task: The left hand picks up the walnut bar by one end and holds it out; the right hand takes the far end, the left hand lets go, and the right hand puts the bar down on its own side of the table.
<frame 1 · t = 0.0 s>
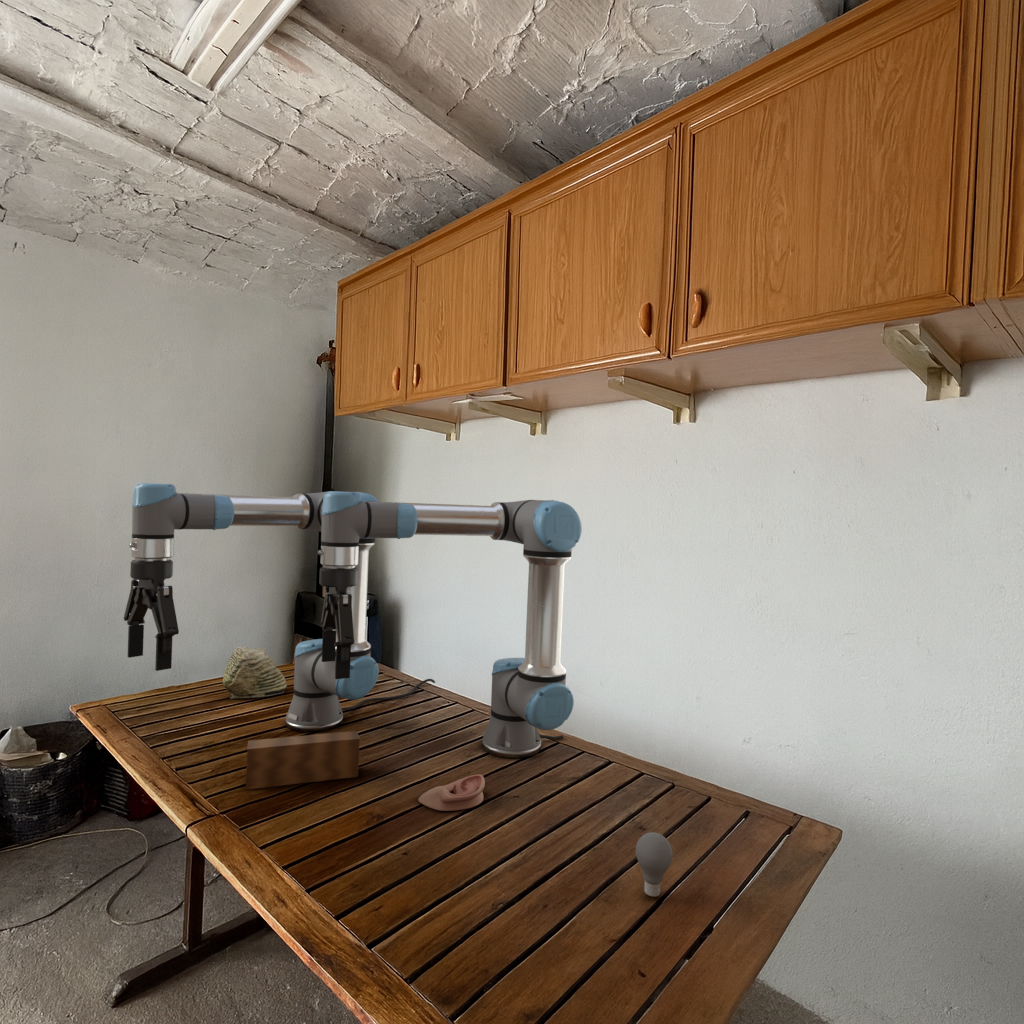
left hand: (148, 662, 129), 28 cm above the table, tool pointing down, fingers open, 13 cm apart
right hand: (335, 669, 130), 28 cm above the table, tool pointing down, fingers open, 13 cm apart
light bulb: (651, 895, 105), on the table
bar: (303, 778, 142), on the table
anatomical model: (451, 799, 135), on the table
fossil: (254, 694, 198), on the table
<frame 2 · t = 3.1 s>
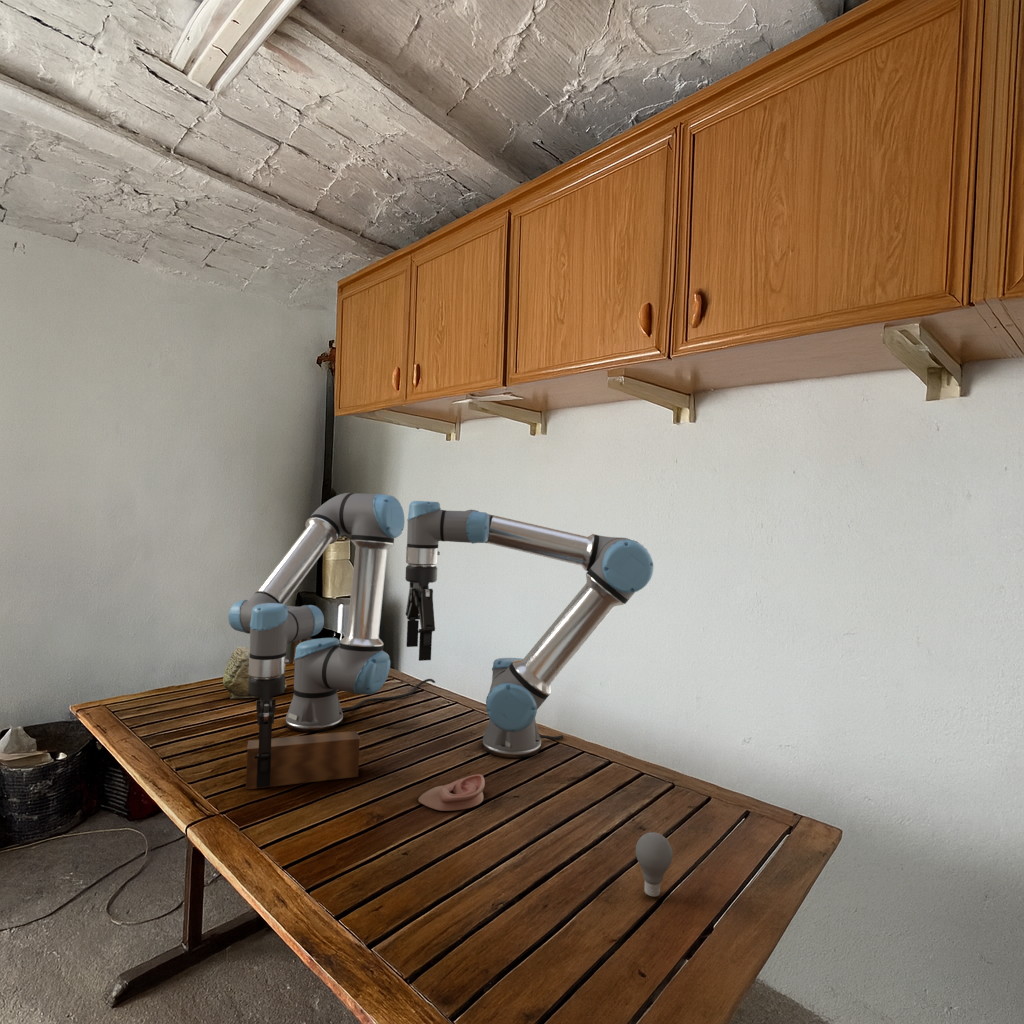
left hand: (263, 780, 139), 1 cm above the table, tool pointing down, fingers closed on bar, 5 cm apart
right hand: (418, 653, 152), 27 cm above the table, tool pointing down, fingers open, 13 cm apart
bar: (303, 778, 142), on the table, touching left hand
everything else where it was.
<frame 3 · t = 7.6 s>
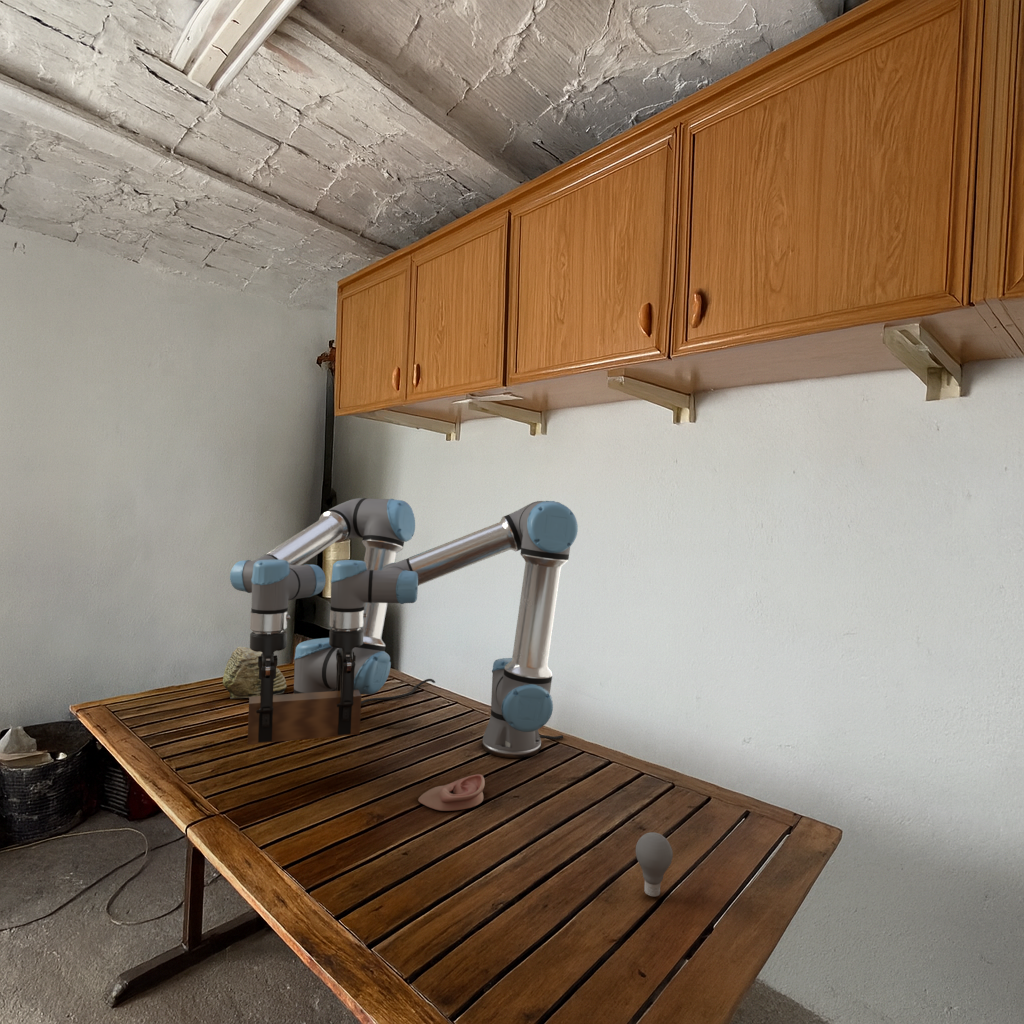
left hand: (265, 736, 139), 10 cm above the table, tool pointing down, fingers closed on bar, 5 cm apart
right hand: (342, 729, 145), 10 cm above the table, tool pointing down, fingers closed on bar, 5 cm apart
bar: (304, 735, 142), point 10 cm above the table, touching left hand, right hand
everything else where it was.
when the left hand's fingers open (10 cm above the table, at t = 8.3 s): bar stays where it is, held by the right hand.
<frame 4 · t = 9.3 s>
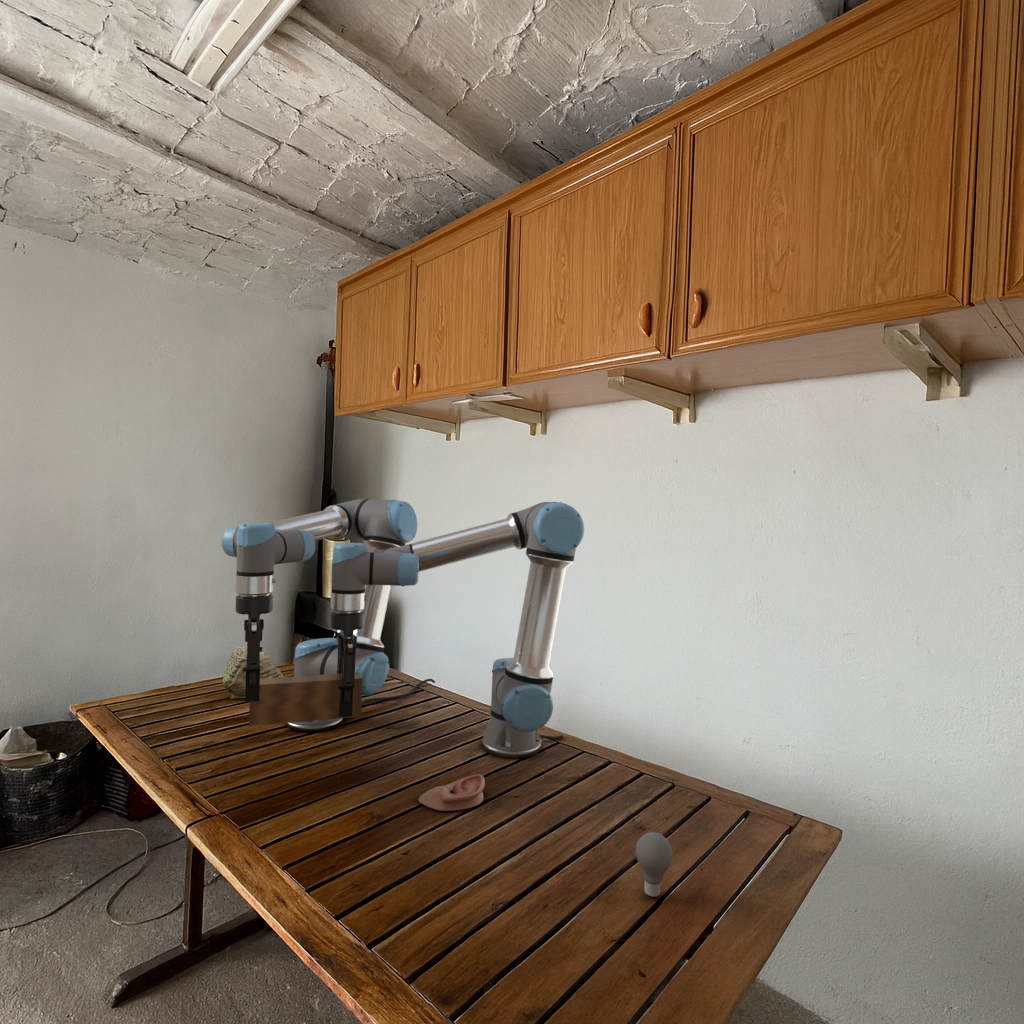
left hand: (252, 691, 138), 20 cm above the table, tool pointing down, fingers open, 13 cm apart
right hand: (344, 711, 145), 14 cm above the table, tool pointing down, fingers closed on bar, 5 cm apart
bar: (306, 717, 142), point 14 cm above the table, touching right hand
everything else where it was.
when the right hand's fingers open (2 cm above the table, at t = 14.9 s): bar drops 1 cm, on the table.
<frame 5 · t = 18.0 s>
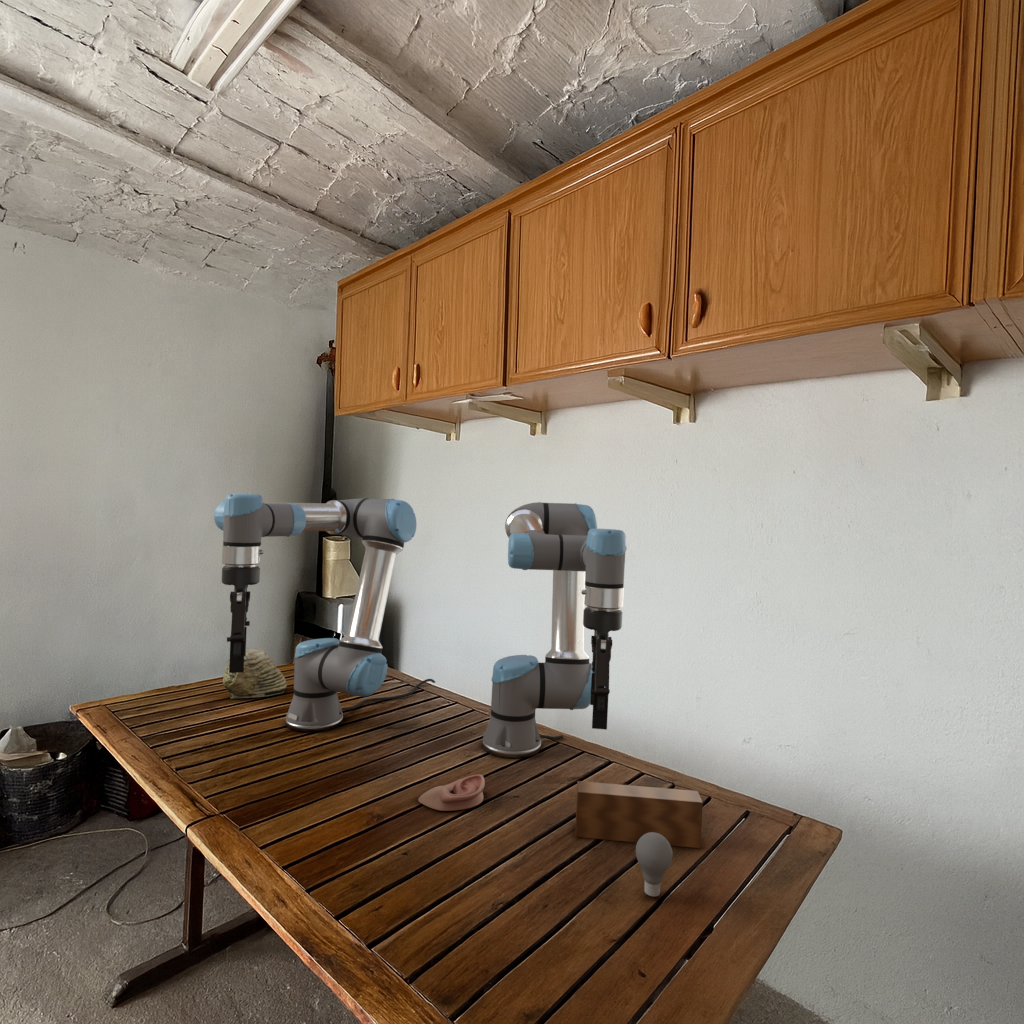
left hand: (237, 663, 136), 27 cm above the table, tool pointing down, fingers open, 13 cm apart
right hand: (598, 716, 124), 23 cm above the table, tool pointing down, fingers open, 13 cm apart
bar: (636, 836, 123), on the table
everything else where it was.
at the end: bar inside the target area (8.5 cm from its centre), on the table; the left hand is holding nothing; the right hand is holding nothing; bar at rest at the end (0.0 cm/s) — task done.
